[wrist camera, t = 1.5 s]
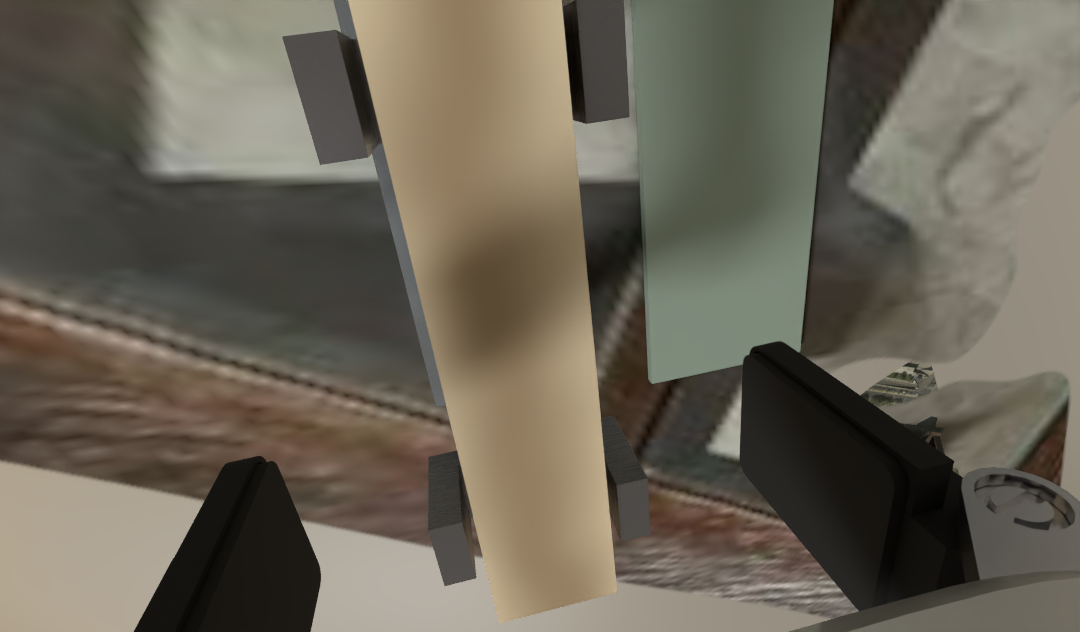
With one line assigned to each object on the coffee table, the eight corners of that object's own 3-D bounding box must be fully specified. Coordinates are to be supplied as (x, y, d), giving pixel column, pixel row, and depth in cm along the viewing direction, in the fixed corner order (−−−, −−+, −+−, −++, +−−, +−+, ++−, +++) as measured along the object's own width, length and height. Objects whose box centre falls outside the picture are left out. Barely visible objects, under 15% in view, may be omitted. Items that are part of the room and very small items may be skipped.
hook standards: (522, -19, 23) (646, -151, 10) (568, 367, 32) (668, 577, 18) (338, 3, 23) (202, -110, 9) (436, 395, 31) (440, 637, 18)
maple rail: (524, -72, 12) (550, -115, 10) (592, 524, 20) (617, 592, 18) (349, -54, 12) (325, -93, 9) (489, 549, 20) (499, 623, 17)
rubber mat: (835, -108, 24) (844, -112, 24) (794, 347, 35) (799, 351, 34) (627, -85, 23) (632, -89, 23) (648, 379, 33) (651, 383, 33)
